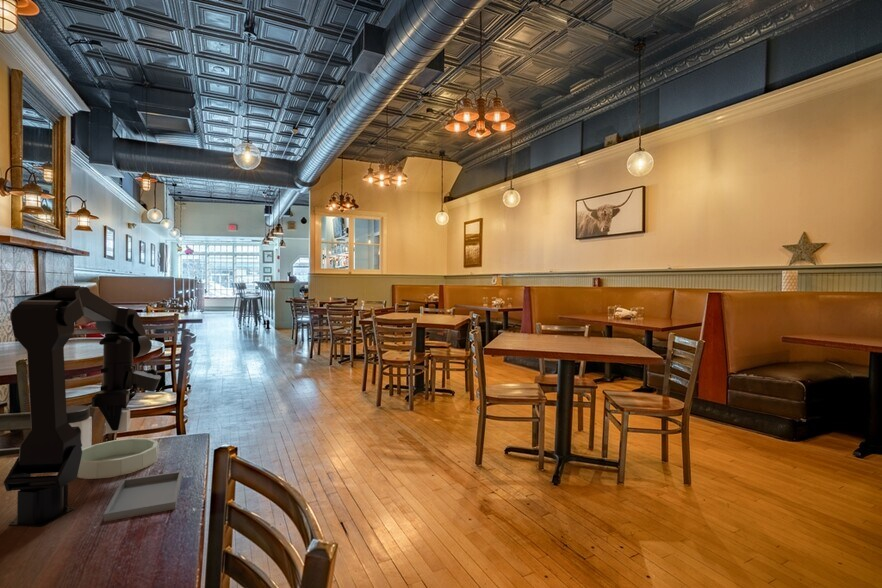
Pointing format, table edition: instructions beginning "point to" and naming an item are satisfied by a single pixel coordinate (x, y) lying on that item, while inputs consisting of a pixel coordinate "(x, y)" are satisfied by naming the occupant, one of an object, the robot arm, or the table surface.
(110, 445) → the bowl
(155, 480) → the parts tray
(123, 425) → the block
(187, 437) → the table surface
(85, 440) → the lidded white canister
